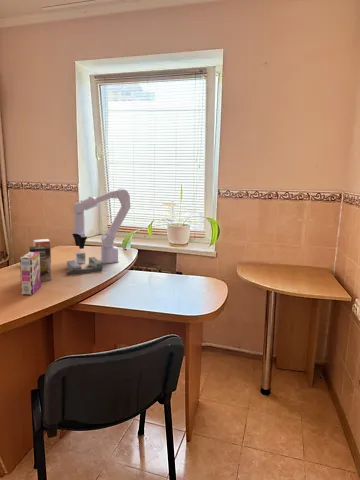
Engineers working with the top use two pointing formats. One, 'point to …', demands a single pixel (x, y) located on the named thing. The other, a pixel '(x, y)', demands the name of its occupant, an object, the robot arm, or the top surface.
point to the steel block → (80, 257)
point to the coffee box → (43, 261)
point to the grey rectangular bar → (73, 265)
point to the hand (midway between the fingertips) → (79, 247)
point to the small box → (42, 244)
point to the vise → (93, 263)
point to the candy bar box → (30, 273)
